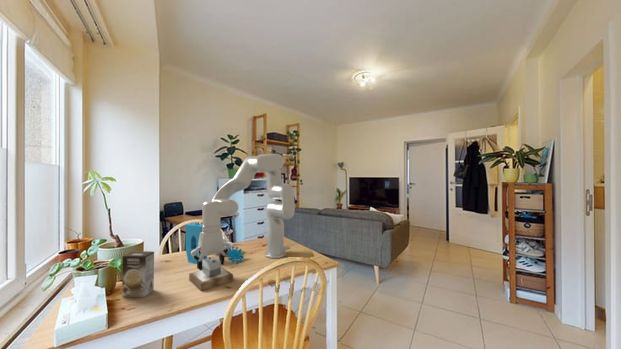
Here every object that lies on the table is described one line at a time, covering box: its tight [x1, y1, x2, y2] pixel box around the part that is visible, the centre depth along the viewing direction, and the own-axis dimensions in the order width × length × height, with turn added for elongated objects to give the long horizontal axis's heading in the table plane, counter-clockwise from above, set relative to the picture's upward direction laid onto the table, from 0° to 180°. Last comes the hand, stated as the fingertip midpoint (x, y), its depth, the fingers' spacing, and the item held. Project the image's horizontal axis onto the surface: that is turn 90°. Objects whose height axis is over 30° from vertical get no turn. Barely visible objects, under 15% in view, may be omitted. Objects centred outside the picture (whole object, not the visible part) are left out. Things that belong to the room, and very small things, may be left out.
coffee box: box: [121, 250, 155, 298], centre depth 102 cm, size 9×6×16 cm
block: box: [185, 222, 208, 265], centre depth 137 cm, size 12×5×20 cm, turn 69°
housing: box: [202, 256, 222, 278], centre depth 114 cm, size 5×8×6 cm, turn 44°
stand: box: [188, 266, 234, 292], centre depth 114 cm, size 14×14×3 cm
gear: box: [225, 245, 246, 264], centre depth 140 cm, size 11×6×10 cm
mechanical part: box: [218, 233, 234, 255], centre depth 151 cm, size 11×12×12 cm
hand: (211, 266), depth 114 cm, fingers open, 9 cm apart
